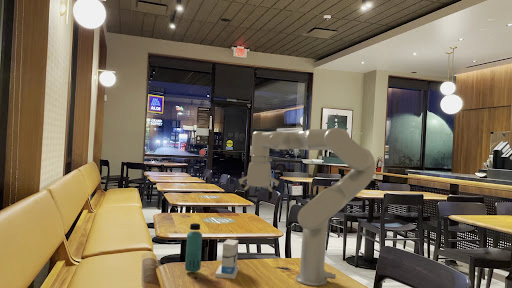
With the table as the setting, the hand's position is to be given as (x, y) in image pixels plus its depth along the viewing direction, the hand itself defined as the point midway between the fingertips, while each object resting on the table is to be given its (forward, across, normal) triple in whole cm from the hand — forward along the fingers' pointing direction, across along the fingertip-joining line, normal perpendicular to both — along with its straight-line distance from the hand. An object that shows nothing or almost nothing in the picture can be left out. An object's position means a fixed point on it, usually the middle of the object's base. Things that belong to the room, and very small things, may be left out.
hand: (258, 199), depth 169 cm
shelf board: (+30, +11, +8) cm, 33 cm away
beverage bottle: (+30, +25, +10) cm, 40 cm away
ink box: (+29, +10, +8) cm, 31 cm away
